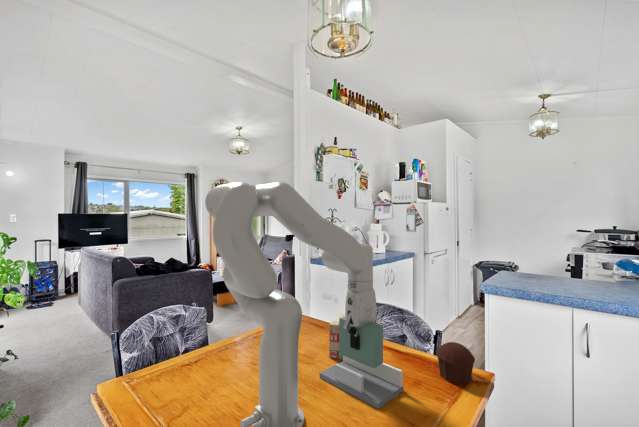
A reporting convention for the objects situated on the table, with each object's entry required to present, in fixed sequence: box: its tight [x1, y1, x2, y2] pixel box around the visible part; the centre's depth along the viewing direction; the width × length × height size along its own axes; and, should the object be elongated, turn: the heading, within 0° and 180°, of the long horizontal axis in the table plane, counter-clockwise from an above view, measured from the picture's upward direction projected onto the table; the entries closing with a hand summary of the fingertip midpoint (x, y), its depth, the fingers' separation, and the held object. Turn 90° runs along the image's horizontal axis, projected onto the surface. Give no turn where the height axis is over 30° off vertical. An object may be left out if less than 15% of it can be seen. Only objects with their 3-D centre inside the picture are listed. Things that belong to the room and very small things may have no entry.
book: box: [339, 316, 384, 368], centre depth 95 cm, size 4×13×11 cm, turn 44°
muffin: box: [435, 341, 476, 385], centre depth 99 cm, size 12×11×10 cm
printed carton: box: [328, 313, 345, 361], centre depth 121 cm, size 21×6×12 cm, turn 163°
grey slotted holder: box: [318, 355, 405, 410], centre depth 94 cm, size 12×22×6 cm, turn 44°
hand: (360, 345), depth 95 cm, fingers closed on book, 4 cm apart
